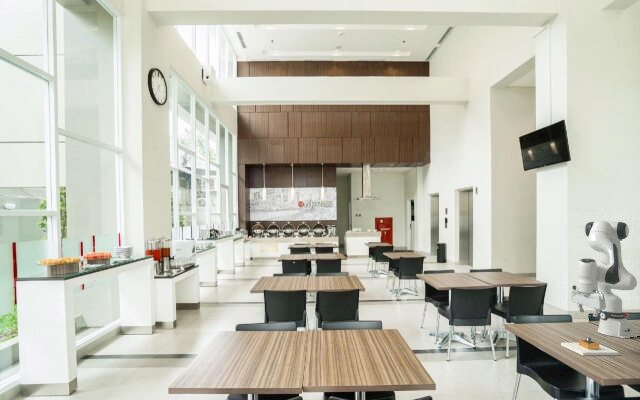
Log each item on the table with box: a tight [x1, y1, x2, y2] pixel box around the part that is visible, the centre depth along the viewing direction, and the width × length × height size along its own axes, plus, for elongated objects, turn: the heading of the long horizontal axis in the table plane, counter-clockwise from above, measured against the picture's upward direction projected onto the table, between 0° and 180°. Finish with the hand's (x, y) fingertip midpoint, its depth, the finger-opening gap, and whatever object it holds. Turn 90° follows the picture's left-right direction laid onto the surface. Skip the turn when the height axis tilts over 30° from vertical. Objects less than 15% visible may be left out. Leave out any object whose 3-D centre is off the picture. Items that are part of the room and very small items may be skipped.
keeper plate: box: [560, 337, 620, 357], centre depth 208 cm, size 20×16×6 cm
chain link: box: [578, 339, 600, 349], centre depth 208 cm, size 6×6×3 cm
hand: (588, 314), depth 209 cm, fingers open, 8 cm apart
